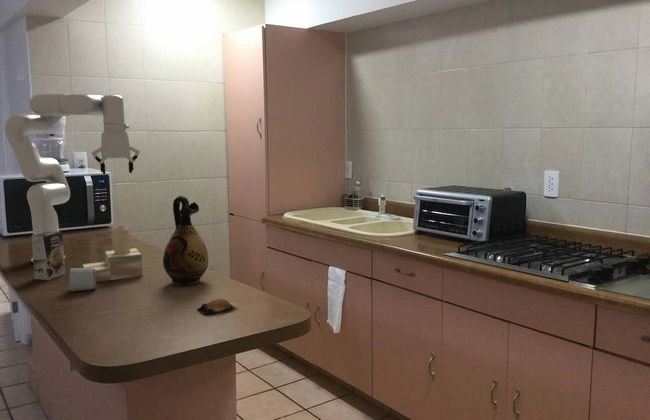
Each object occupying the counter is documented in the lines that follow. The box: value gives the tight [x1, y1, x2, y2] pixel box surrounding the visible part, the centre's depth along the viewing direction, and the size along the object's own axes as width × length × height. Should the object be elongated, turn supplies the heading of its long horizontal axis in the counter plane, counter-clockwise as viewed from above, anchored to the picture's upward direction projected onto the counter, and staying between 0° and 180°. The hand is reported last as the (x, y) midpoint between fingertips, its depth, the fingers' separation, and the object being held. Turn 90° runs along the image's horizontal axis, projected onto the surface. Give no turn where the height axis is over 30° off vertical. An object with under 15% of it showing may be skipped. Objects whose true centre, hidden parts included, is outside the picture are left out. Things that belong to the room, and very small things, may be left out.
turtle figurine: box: [196, 298, 238, 317], centre depth 168 cm, size 11×8×4 cm
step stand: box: [82, 247, 144, 283], centre depth 209 cm, size 13×19×8 cm
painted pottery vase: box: [162, 195, 209, 287], centre depth 197 cm, size 17×15×30 cm
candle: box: [112, 225, 131, 254], centre depth 209 cm, size 6×6×10 cm
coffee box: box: [31, 231, 66, 281], centre depth 207 cm, size 9×6×16 cm
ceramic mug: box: [69, 267, 97, 292], centre depth 192 cm, size 11×8×8 cm
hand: (117, 173), depth 219 cm, fingers open, 9 cm apart
